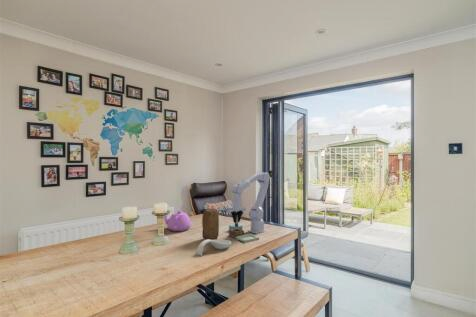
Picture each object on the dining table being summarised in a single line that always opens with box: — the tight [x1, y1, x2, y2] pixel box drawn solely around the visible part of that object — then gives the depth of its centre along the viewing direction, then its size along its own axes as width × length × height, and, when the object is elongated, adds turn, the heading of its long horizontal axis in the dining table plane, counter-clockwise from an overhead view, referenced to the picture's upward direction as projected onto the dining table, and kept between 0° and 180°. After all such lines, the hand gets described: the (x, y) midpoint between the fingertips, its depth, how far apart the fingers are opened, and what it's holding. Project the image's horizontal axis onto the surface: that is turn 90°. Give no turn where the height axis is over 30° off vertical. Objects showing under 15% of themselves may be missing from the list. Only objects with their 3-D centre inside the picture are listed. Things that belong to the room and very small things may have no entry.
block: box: [201, 208, 220, 241], centre depth 174 cm, size 11×8×20 cm
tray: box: [235, 233, 260, 244], centre depth 178 cm, size 12×9×2 cm
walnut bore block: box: [228, 228, 245, 239], centre depth 184 cm, size 7×7×4 cm
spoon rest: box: [195, 238, 232, 257], centre depth 156 cm, size 24×12×7 cm, turn 139°
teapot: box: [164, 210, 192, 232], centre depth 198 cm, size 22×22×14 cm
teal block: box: [228, 223, 243, 231], centre depth 196 cm, size 7×7×4 cm
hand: (236, 222), depth 184 cm, fingers closed on pin gauge, 2 cm apart
